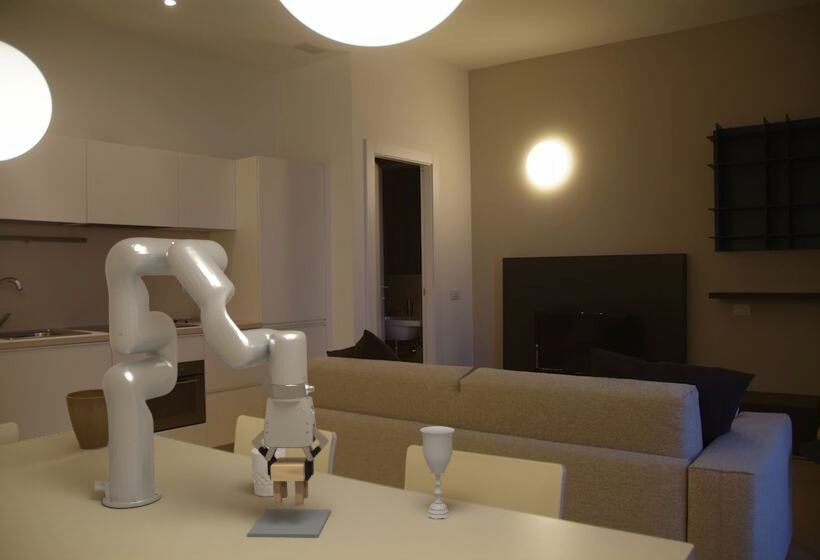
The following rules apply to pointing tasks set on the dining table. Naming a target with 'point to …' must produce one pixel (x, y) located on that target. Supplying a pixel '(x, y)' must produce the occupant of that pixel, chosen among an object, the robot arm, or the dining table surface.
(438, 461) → the chalice
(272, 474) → the stool
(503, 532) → the dining table surface
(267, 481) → the white cup
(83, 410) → the plant pot
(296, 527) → the mat
